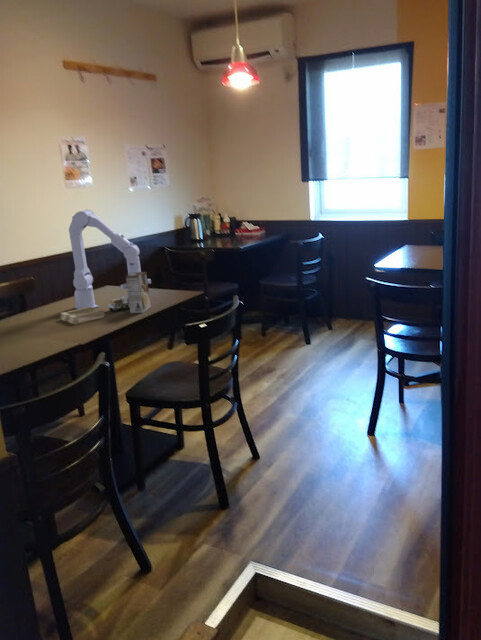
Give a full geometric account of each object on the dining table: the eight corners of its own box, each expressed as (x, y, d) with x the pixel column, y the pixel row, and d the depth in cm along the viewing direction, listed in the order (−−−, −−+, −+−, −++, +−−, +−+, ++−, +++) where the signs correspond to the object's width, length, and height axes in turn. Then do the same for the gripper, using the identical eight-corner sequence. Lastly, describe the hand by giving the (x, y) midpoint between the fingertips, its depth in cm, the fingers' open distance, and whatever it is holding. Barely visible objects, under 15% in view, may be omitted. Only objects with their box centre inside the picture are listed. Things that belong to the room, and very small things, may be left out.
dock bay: (61, 319, 238) (60, 312, 237) (90, 312, 246) (89, 306, 245) (75, 324, 227) (74, 317, 227) (105, 317, 236) (104, 310, 235)
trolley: (108, 310, 247) (106, 299, 246) (123, 306, 252) (122, 296, 251) (114, 312, 243) (113, 301, 241) (130, 308, 248) (129, 297, 246)
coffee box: (137, 307, 248) (133, 272, 244) (151, 307, 247) (146, 271, 242) (129, 313, 239) (124, 276, 235) (143, 312, 238) (139, 275, 234)
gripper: (124, 276, 242) (129, 306, 246) (153, 270, 251) (156, 299, 255) (116, 274, 247) (121, 304, 251) (144, 268, 256) (148, 297, 260)
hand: (138, 301), depth 253 cm, fingers closed
